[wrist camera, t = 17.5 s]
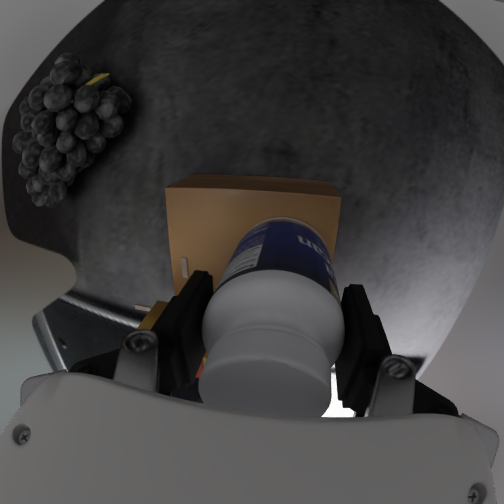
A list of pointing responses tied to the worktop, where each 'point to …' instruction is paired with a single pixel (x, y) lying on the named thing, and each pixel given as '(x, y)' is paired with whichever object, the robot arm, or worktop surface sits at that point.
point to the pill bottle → (274, 324)
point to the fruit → (66, 127)
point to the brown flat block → (238, 217)
